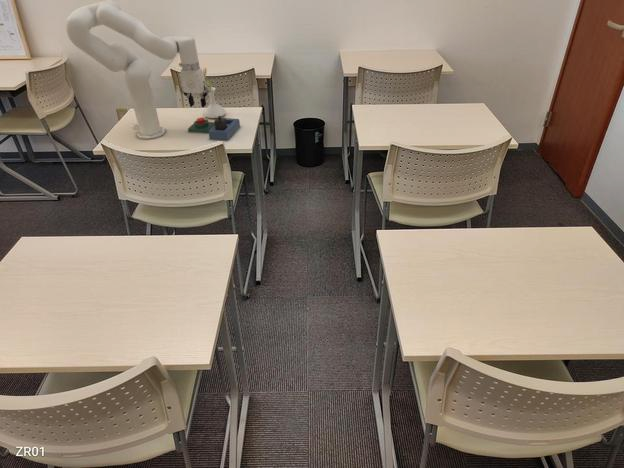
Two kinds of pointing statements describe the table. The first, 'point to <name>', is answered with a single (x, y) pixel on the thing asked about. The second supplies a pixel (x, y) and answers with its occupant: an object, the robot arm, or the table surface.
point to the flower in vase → (212, 102)
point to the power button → (200, 120)
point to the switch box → (201, 127)
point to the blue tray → (228, 132)
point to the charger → (220, 123)
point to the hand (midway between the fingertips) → (198, 105)
